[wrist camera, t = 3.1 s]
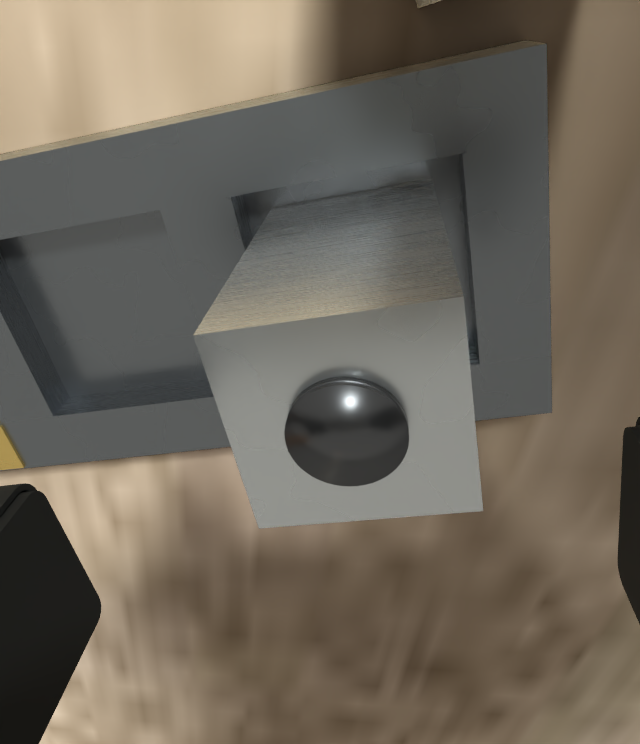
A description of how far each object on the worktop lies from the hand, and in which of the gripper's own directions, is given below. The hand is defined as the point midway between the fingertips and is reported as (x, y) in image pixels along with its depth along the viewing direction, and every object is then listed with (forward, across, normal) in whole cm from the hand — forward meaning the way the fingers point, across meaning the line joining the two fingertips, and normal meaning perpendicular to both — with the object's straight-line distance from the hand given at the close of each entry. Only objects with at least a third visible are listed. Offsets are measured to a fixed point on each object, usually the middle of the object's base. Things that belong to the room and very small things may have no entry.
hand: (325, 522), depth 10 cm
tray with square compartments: (+11, +8, -1) cm, 13 cm away
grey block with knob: (+10, 0, -1) cm, 10 cm away
